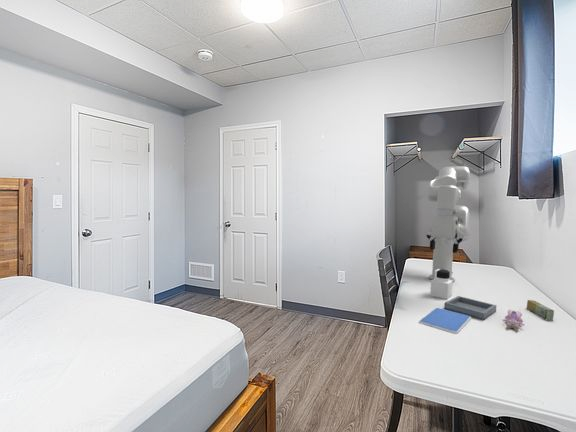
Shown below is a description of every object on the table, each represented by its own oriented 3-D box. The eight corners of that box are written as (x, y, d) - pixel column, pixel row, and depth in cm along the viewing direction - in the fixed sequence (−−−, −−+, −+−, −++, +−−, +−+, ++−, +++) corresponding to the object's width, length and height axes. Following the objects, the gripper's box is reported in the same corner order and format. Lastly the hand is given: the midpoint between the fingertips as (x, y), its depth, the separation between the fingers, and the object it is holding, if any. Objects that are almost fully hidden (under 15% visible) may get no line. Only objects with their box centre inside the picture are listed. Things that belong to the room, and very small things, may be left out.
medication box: (553, 321, 111) (554, 310, 111) (545, 320, 111) (546, 309, 111) (533, 309, 123) (534, 299, 122) (525, 308, 123) (526, 299, 123)
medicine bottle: (451, 295, 137) (453, 270, 136) (447, 299, 132) (448, 272, 131) (435, 292, 142) (436, 267, 141) (430, 295, 136) (431, 269, 136)
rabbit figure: (523, 337, 99) (525, 317, 110) (524, 321, 98) (526, 302, 109) (500, 332, 103) (504, 312, 114) (501, 316, 102) (505, 298, 113)
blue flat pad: (457, 336, 97) (457, 332, 97) (417, 324, 106) (417, 320, 106) (471, 319, 111) (472, 316, 111) (435, 310, 120) (436, 306, 120)
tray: (458, 301, 129) (458, 295, 129) (496, 311, 119) (496, 305, 118) (444, 308, 120) (444, 302, 120) (483, 320, 110) (484, 313, 109)
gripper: (470, 214, 130) (467, 253, 131) (430, 212, 143) (428, 247, 144) (463, 214, 125) (460, 254, 126) (422, 212, 138) (420, 249, 139)
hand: (443, 251), depth 135 cm, fingers open, 9 cm apart
